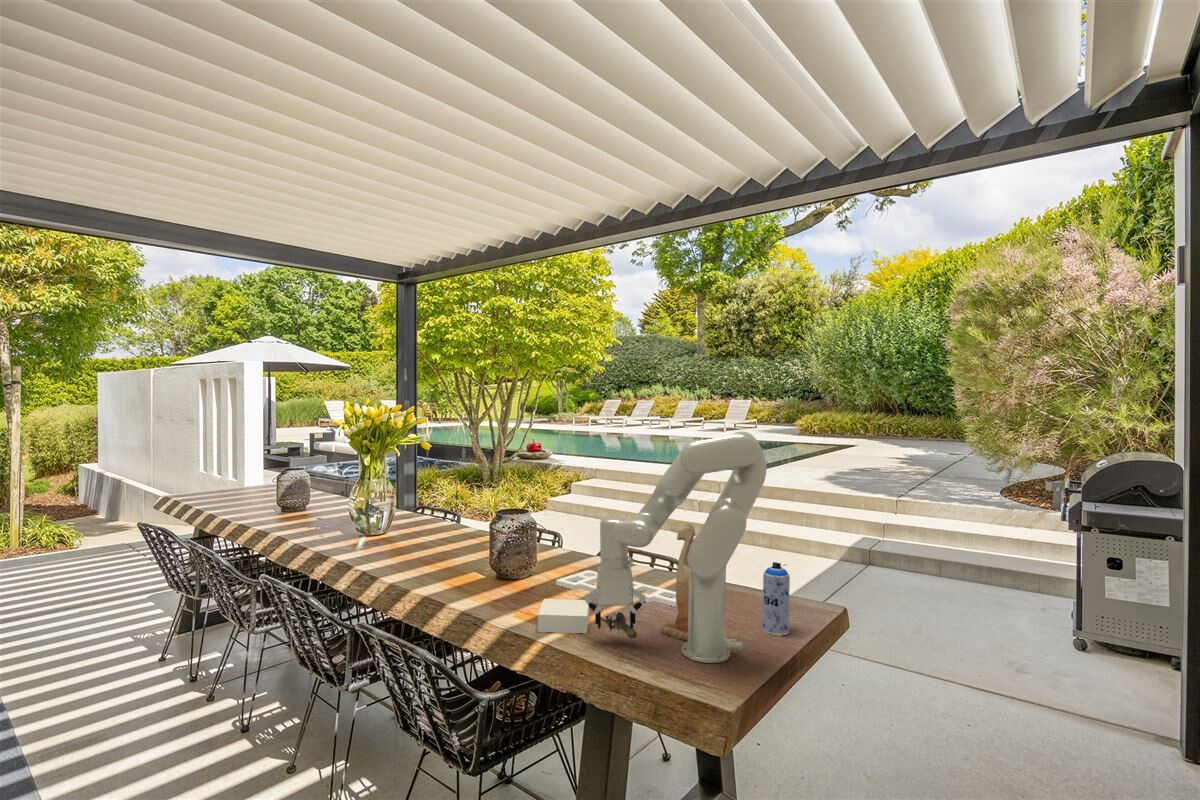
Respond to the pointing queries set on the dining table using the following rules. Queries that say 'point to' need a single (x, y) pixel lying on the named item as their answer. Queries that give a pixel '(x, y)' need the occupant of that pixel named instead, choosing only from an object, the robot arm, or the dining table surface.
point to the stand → (563, 616)
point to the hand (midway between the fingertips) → (615, 626)
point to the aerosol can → (776, 599)
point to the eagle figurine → (620, 625)
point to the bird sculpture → (681, 588)
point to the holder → (657, 594)
